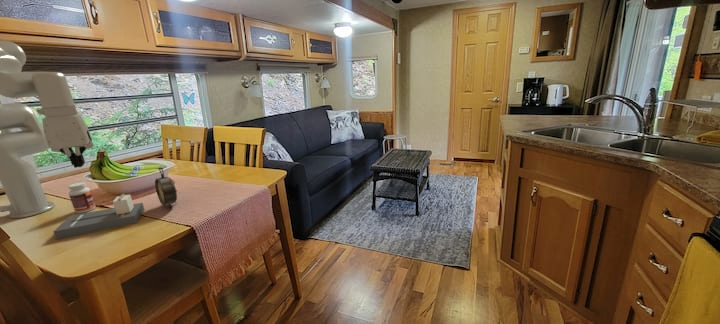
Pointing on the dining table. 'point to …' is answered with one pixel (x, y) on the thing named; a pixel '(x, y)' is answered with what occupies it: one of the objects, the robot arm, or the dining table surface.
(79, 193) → the pill bottle
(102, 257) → the dining table surface
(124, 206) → the fader knob
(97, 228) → the fader console
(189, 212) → the dining table surface
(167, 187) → the alarm clock
